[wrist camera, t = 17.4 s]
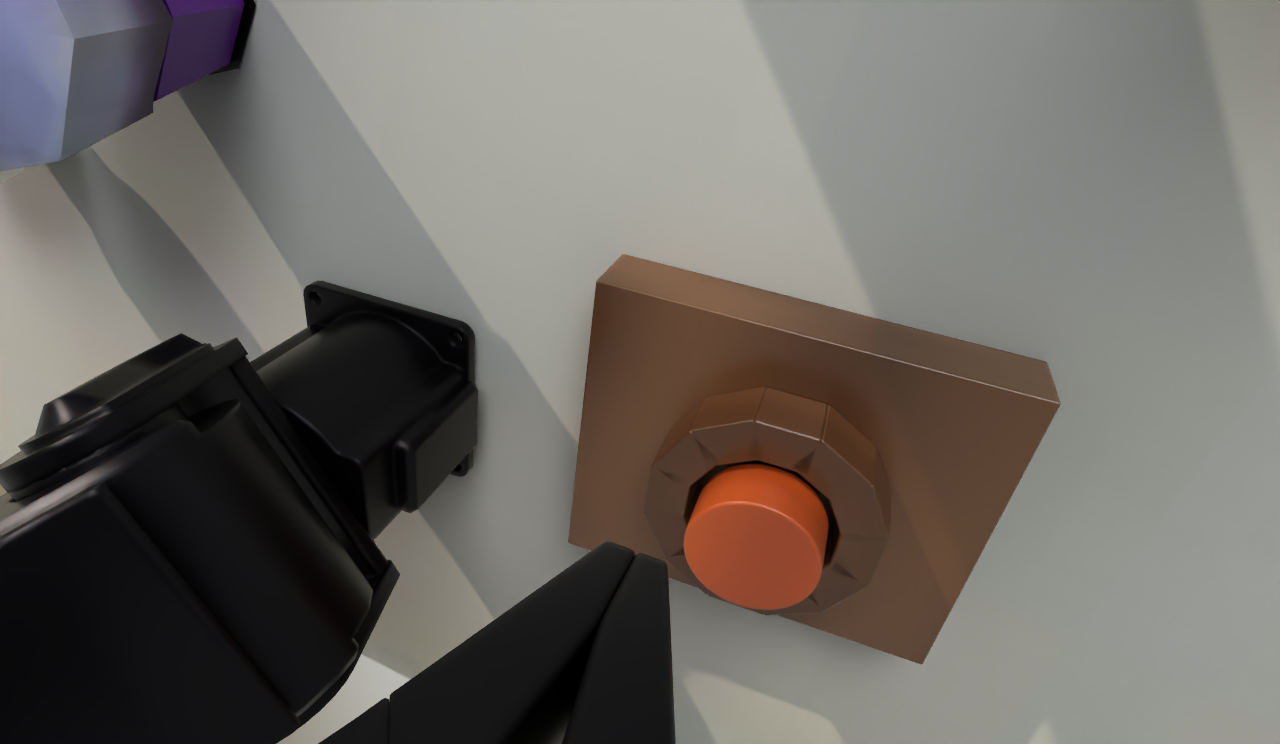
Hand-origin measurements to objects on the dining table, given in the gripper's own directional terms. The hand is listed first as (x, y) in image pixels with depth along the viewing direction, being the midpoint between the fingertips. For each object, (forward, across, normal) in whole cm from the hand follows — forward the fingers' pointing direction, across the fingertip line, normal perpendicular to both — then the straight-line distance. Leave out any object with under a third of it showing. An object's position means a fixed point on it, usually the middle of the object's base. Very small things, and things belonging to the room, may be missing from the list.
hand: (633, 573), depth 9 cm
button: (+9, -2, +6) cm, 11 cm away
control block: (+13, -2, +6) cm, 14 cm away
